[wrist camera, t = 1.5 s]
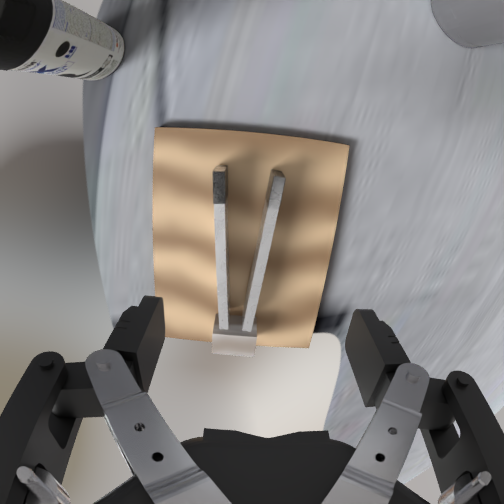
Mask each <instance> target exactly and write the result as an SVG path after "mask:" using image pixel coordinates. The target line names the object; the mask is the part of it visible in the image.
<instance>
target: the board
mask: <svg viewBox="0 0 504 504" xmlns="http://www.w3.org/2000/svg"><path fill="white" fill-rule="evenodd" d="M348 152H349V145H346V144H341V143H335V142H329V141H322V140H315V139H308V138H301V137H293V136H285V135H277V134H268V133H258V132H247V131H235V130H220V129H203V128H177V127H156V128H155V136H154V159H153V256H154V280H155V296H156V297H162V298H163V303H164V317H165V337H170V338H179V339H188V340H197V341H206V342H212V353H214V354H226V355H238V356H254V355H255V348H256V346H273V347H294V348H309V346H310V342H311V338H312V334H313V330H314V326H315V322H316V318H317V314H318V310H319V305H320V301H321V297H322V292H323V288H324V283H325V279H326V274H327V270H328V265H329V260H330V255H331V250H332V245H333V240H334V235H335V230H336V225H337V219H338V214H339V208H340V203H341V197H342V191H343V185H344V179H345V172H346V166H347V159H348ZM217 165H228V242H229V283H230V318H229V329H228V330H227V329H219V314H218V296H217V276H216V253H215V227H214V204H213V173H212V171H213V170H214V169H215V167H216V166H217ZM271 169H274V170H279V171H282V172H283V174H284V176H285V177H286V181H285V185H284V190H283V195H282V199H281V204H280V208H279V210H278V215H277V220H276V224H275V229H274V233H273V238H272V242H271V247H270V251H269V256H268V260H267V265H266V269H265V273H264V278H263V282H262V287H261V291H260V295H259V300H258V304H257V308H256V313H255V317H254V321H253V326H252V330H251V332H248V331H242V317H243V307H244V302H245V297H246V292H247V287H248V282H249V277H250V273H251V268H252V263H253V258H254V253H255V248H256V243H257V238H258V233H259V228H260V224H261V219H262V214H263V209H264V204H265V199H266V198H265V197H266V192H267V187H268V182H269V177H270V172H271Z"/></svg>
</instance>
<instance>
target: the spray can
mask: <svg viewBox="0 0 504 504" xmlns="http://www.w3.org/2000/svg"><path fill="white" fill-rule="evenodd" d="M124 48H125V45H124V41H123V38H122V37H121V35H120V34H119V32H117V31H116V30H115V29H113V28H112V27H110V26H108V25H107V24H105V23H103V22H102V21H100V20H98V19H96V18H94V17H93V16H91V15H89V14H87V13H85V12H83V11H82V10H80V9H77V8H76V7H74V6H72V5H70V4H68V3H66V2H64V1H62V0H0V70H11V71H13V70H14V71H26V72H35V73H43V74H51V75H58V76H65V77H71V78H78V79H84V80H99V79H102V78H105V77H107V76H108V75H110V74H111V73H113V72H114V71H115V70H116V69H117V67H118V66H119V64H120V63H121V61H122V58H123V55H124Z"/></svg>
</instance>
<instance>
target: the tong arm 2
mask: <svg viewBox="0 0 504 504" xmlns="http://www.w3.org/2000/svg"><path fill="white" fill-rule="evenodd" d="M285 181H286V177H285V176H284V174H283V172H282V171H279V170H274V169H271V172H270V177H269V182H268V187H267V192H266V197H265V198H266V199H265V204H264V209H263V214H262V219H261V224H260V228H259V233H258V238H257V243H256V248H255V253H254V258H253V263H252V268H251V273H250V277H249V282H248V287H247V292H246V297H245V302H244V307H243V317H242V331H248V332H251V330H252V326H253V321H254V317H255V313H256V308H257V304H258V300H259V295H260V291H261V287H262V282H263V278H264V273H265V269H266V265H267V260H268V256H269V251H270V247H271V242H272V238H273V233H274V229H275V224H276V220H277V215H278V210H279V208H280V204H281V199H282V195H283V190H284V185H285Z"/></svg>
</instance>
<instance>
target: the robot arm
mask: <svg viewBox="0 0 504 504" xmlns="http://www.w3.org/2000/svg"><path fill="white" fill-rule="evenodd" d="M431 6H432V11H433V14H434V16H435V19H436V20H437V22H438V24H439V26H440V27H441V28H442V30H443V31H444V32H445V33H446V34H447V35H448V37H449V38H451V39H452V40H453V41H454V42H456V43H458V44H459V45H461V46H464V47H468V48H474V47H482V46H486V45H493V44H500V43H504V0H431ZM395 336H396V335H395V334H394V332H393V330H392V329H391V327H390V326H388V325H387V324H386V323H385V322H384V321H379V319H378V317H377V316H376V314H375V312H374V311H373V310H372V309H356V310H355V311H354V313H353V316H352V320H351V323H350V326H349V330H348V333H347V337H346V341H345V349H346V353H347V356H348V359H349V361H350V364H351V367H352V370H353V373H354V376H355V378H356V381H357V384H358V387H359V390H360V393H361V396H362V399H363V402H364V405H365V407H373V406H376V409H377V410H376V412H375V414H374V416H373V418H372V420H371V422H370V424H369V425H368V427H367V429H366V431H365V433H364V434H363V436H362V438H361V440H360V441H359V443H358V445H357V447H356V448H354V447H352V446H350V445H348V444H346V443H343V442H341V441H337V440H333V439H330V438H329V433H328V431H307V432H296V433H291V434H287V435H282V436H277V437H273V438H264V437H259V436H255V435H251V434H246V433H242V432H239V431H233V430H218V429H206V428H204V434H203V437H197V438H192V439H189V440H185V441H183V442H179V441H178V439H177V438H176V437H175V435H174V434H173V432H172V431H171V429H170V428H169V426H168V425H167V423H166V422H165V420H164V419H163V417H162V416H161V414H160V413H159V411H158V410H157V408H156V406H155V405H154V403H153V402H152V400H151V399H150V397H149V395H148V394H147V393H148V390H149V386H150V383H151V380H152V377H153V374H154V370H155V368H156V364H157V361H158V358H159V355H160V352H161V349H162V346H163V343H164V340H165V317H164V303H163V298H162V297H156V296H146V295H145V296H144V297H143V299H142V301H141V303H140V304H139V306H138V307H137V306H131V307H130V308H128V309H127V310H126V311H124V312H123V314H122V315H121V317H120V319H119V322H117V324H116V326H115V328H114V330H113V332H112V333H111V335H110V337H109V339H108V341H107V343H106V344H105V346H104V348H103V349H102V350H98V351H95V352H93V353H92V354H90V355H89V356H88V357H87V359H86V361H85V362H75V363H65V361H64V359H63V357H62V356H61V355H60V354H59V353H56V352H43V353H41V354H39V355H37V356H36V357H35V358H34V359H33V360H32V361H31V363H30V365H29V366H28V368H27V369H26V371H25V373H24V374H23V376H22V378H21V380H20V381H19V383H18V385H17V387H16V388H15V390H14V392H13V394H12V396H11V397H10V399H9V401H8V403H7V405H6V406H5V408H4V410H3V412H2V414H1V416H0V504H70V497H69V495H68V493H67V492H66V490H65V489H64V488H63V487H62V486H61V484H62V481H63V477H64V474H65V471H66V467H67V464H68V461H69V457H70V455H71V451H72V448H73V445H74V442H75V439H76V436H77V433H78V430H79V427H80V424H81V422H82V419H83V417H104V418H105V421H106V423H107V425H108V427H109V429H110V431H111V433H112V435H113V438H114V440H115V442H116V444H117V446H118V448H119V450H120V451H121V454H122V456H123V458H124V459H125V461H126V463H127V465H128V467H129V469H130V471H131V473H132V474H133V476H132V477H131V478H129V479H128V480H127V481H126V482H124V483H122V484H121V485H120V486H118V487H117V488H115V489H114V490H112V491H111V492H109V493H108V494H107V495H105V496H104V497H102V498H101V499H99V500H97V501H96V502H94V503H93V504H430V503H429V502H427V501H426V500H424V499H423V498H421V497H420V496H419V495H417V494H416V493H414V492H413V491H412V490H410V489H409V488H407V487H406V486H405V485H403V484H402V483H401V482H399V481H398V480H397V478H398V476H399V474H400V472H401V469H402V467H403V465H404V462H405V460H406V457H407V455H408V452H409V450H410V447H411V445H412V442H413V440H414V437H415V434H416V431H417V429H418V428H419V429H420V430H421V433H422V435H423V438H424V441H425V444H426V447H427V450H428V453H429V456H430V459H431V462H432V465H433V468H434V471H435V474H436V478H437V481H438V484H439V487H440V491H441V495H440V497H439V500H438V504H504V433H503V431H502V429H501V428H500V425H499V423H498V422H497V420H496V418H495V416H494V414H493V412H492V410H491V408H490V407H489V405H488V403H487V401H486V399H485V398H484V396H483V394H482V392H481V391H480V389H479V387H478V385H477V384H476V382H475V380H474V379H473V378H472V377H471V376H470V375H469V374H467V373H465V372H462V371H453V372H451V373H450V374H449V375H448V377H447V378H446V380H442V379H435V378H430V377H429V374H428V372H427V371H426V370H425V369H424V368H423V367H421V366H419V365H417V364H413V363H411V362H410V360H409V358H408V357H407V355H406V353H405V351H404V350H403V348H402V346H401V344H400V343H399V341H398V339H397V337H395ZM455 420H456V422H457V424H458V426H459V428H460V438H459V436H458V434H457V431H456V429H455V427H454V424H453V422H454V421H455Z"/></svg>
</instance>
